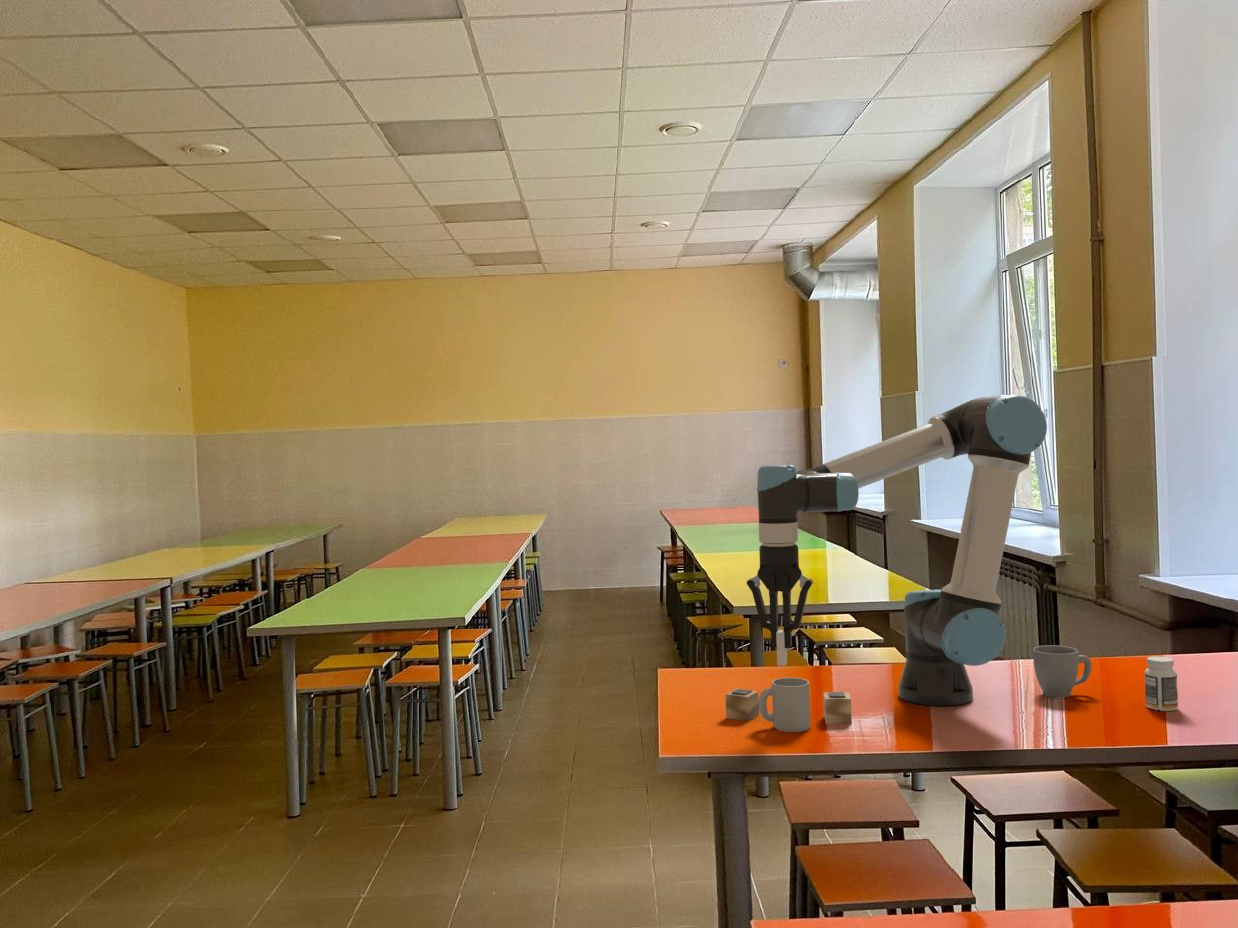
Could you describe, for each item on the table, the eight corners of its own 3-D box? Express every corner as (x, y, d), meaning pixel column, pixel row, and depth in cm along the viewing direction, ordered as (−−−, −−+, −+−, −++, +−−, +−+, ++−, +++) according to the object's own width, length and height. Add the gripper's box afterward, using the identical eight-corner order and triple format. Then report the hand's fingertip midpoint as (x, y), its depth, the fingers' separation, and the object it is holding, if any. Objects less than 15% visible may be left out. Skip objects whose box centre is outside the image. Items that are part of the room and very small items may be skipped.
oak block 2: (849, 717, 199) (848, 691, 199) (851, 724, 194) (850, 697, 194) (824, 717, 200) (823, 691, 200) (825, 724, 195) (825, 697, 195)
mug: (1046, 701, 205) (1045, 655, 205) (1026, 690, 214) (1025, 646, 214) (1102, 698, 206) (1101, 652, 206) (1080, 687, 215) (1079, 643, 214)
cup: (813, 732, 190) (811, 686, 189) (760, 733, 190) (759, 687, 190) (808, 721, 197) (806, 677, 197) (757, 722, 197) (756, 678, 197)
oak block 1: (759, 715, 203) (758, 689, 203) (748, 721, 199) (747, 695, 199) (737, 712, 206) (736, 687, 205) (726, 718, 201) (725, 692, 201)
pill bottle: (1176, 705, 198) (1175, 656, 198) (1179, 713, 193) (1178, 662, 193) (1144, 703, 201) (1143, 655, 201) (1146, 710, 196) (1145, 661, 195)
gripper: (814, 542, 194) (818, 661, 195) (749, 542, 198) (752, 659, 199) (809, 546, 187) (813, 670, 188) (741, 546, 191) (745, 667, 192)
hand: (782, 664), depth 193 cm, fingers closed
